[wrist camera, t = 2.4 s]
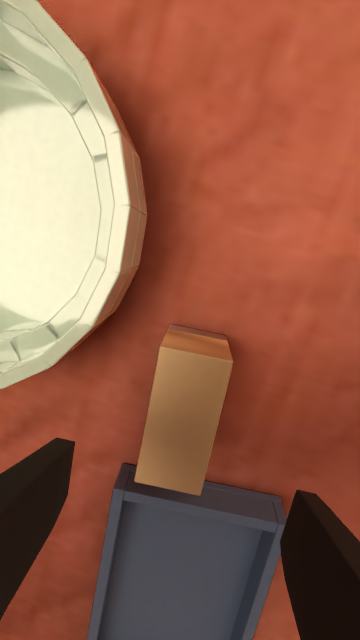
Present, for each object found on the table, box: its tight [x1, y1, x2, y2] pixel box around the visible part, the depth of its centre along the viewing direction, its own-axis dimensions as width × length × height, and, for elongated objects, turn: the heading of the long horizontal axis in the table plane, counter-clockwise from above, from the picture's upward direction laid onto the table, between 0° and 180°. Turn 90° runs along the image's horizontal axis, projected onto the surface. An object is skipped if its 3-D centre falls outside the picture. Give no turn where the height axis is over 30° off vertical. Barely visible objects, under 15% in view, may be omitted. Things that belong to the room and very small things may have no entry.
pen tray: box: [87, 463, 287, 640], centre depth 20 cm, size 9×15×2 cm, turn 169°
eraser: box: [134, 324, 233, 496], centre depth 16 cm, size 3×6×4 cm, turn 169°
